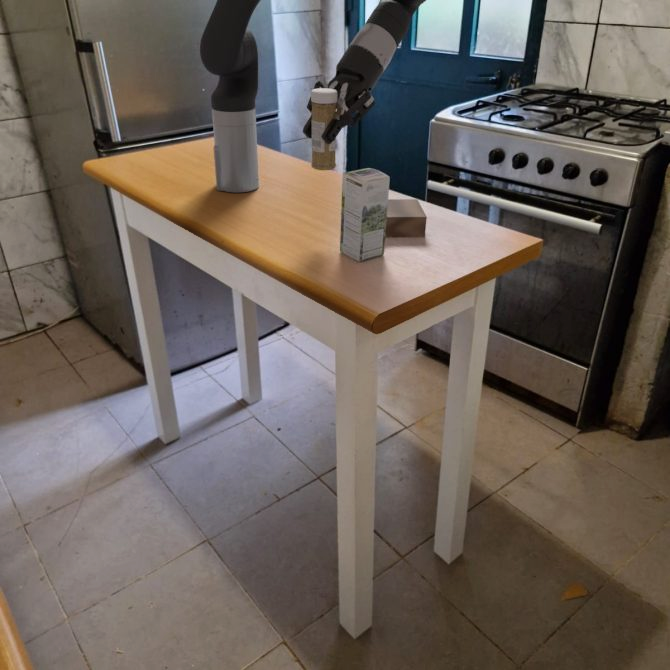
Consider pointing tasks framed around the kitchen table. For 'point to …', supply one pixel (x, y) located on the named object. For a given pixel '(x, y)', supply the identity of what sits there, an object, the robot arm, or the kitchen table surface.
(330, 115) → the sprinkles bottle
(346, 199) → the syrup box
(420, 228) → the plinth
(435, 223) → the kitchen table surface
